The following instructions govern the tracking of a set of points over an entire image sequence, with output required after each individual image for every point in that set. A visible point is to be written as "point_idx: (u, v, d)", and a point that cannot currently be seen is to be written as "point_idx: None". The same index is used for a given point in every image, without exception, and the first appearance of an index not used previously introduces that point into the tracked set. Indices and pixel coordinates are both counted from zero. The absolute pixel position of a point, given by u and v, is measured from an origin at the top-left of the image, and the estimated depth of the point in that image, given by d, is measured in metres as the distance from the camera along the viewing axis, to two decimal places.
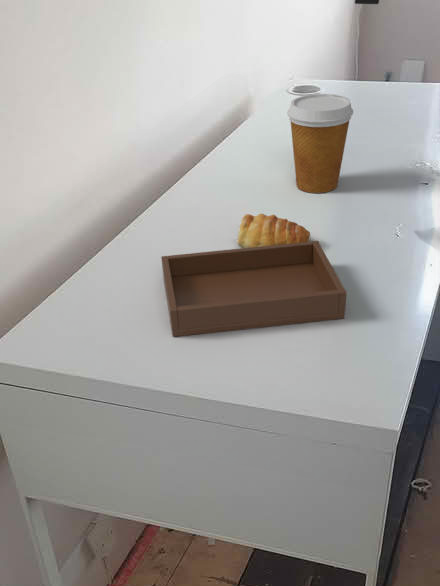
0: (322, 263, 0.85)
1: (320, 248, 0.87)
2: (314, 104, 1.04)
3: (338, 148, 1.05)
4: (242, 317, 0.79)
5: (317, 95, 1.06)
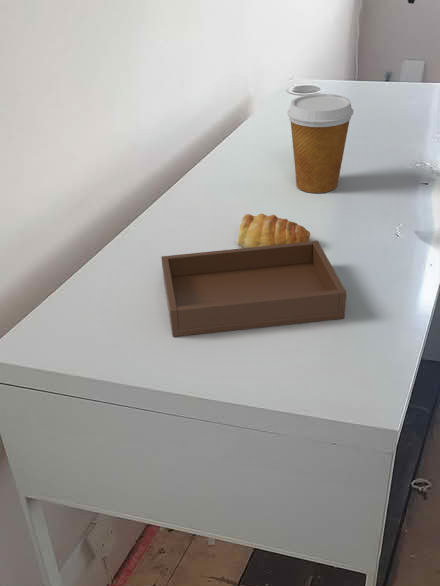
0: (322, 263, 0.85)
1: (320, 248, 0.87)
2: (314, 104, 1.04)
3: (338, 148, 1.05)
4: (242, 317, 0.79)
5: (317, 95, 1.06)
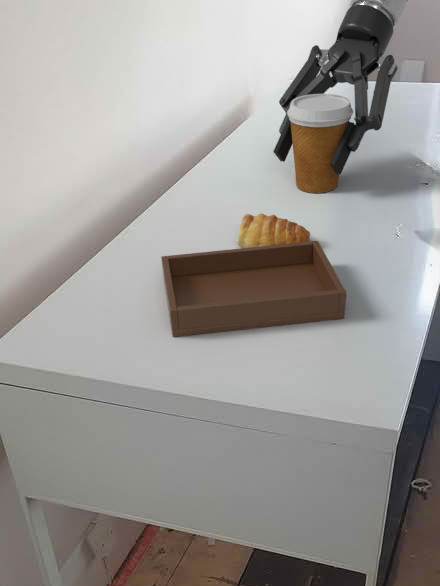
0: (322, 263, 0.85)
1: (320, 248, 0.87)
2: (314, 104, 1.04)
3: None
4: (242, 317, 0.79)
5: (317, 95, 1.06)
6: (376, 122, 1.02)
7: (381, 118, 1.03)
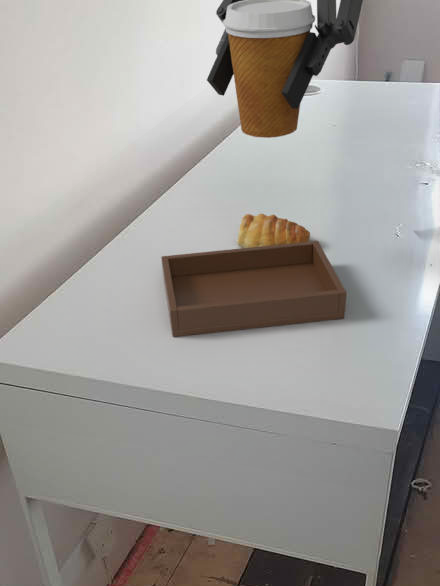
0: (322, 263, 0.85)
1: (320, 248, 0.87)
2: (260, 9, 0.74)
3: None
4: (242, 317, 0.79)
5: None
6: (346, 31, 0.71)
7: (354, 27, 0.72)
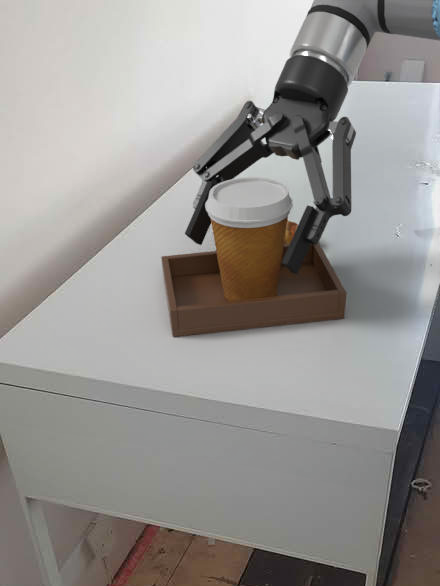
0: (322, 263, 0.85)
1: (320, 248, 0.87)
2: (240, 194, 0.77)
3: (274, 251, 0.79)
4: (242, 317, 0.79)
5: (247, 179, 0.80)
6: (344, 206, 0.74)
7: (349, 199, 0.75)
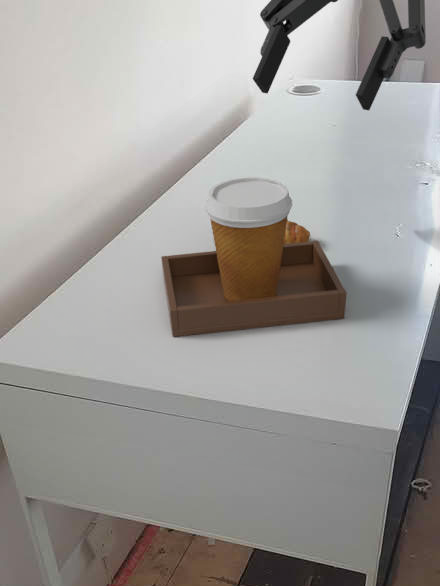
0: (322, 263, 0.85)
1: (320, 248, 0.87)
2: (240, 194, 0.77)
3: (273, 251, 0.79)
4: (242, 317, 0.79)
5: (246, 179, 0.80)
6: (420, 34, 0.74)
7: (424, 30, 0.75)
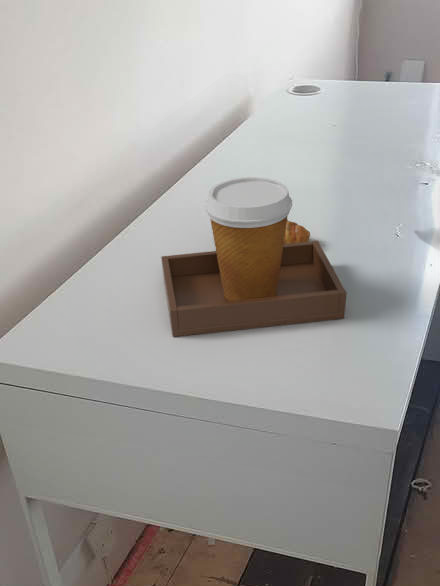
0: (322, 263, 0.85)
1: (320, 248, 0.87)
2: (240, 194, 0.77)
3: (273, 251, 0.79)
4: (242, 317, 0.79)
5: (246, 179, 0.80)
6: None
7: None
